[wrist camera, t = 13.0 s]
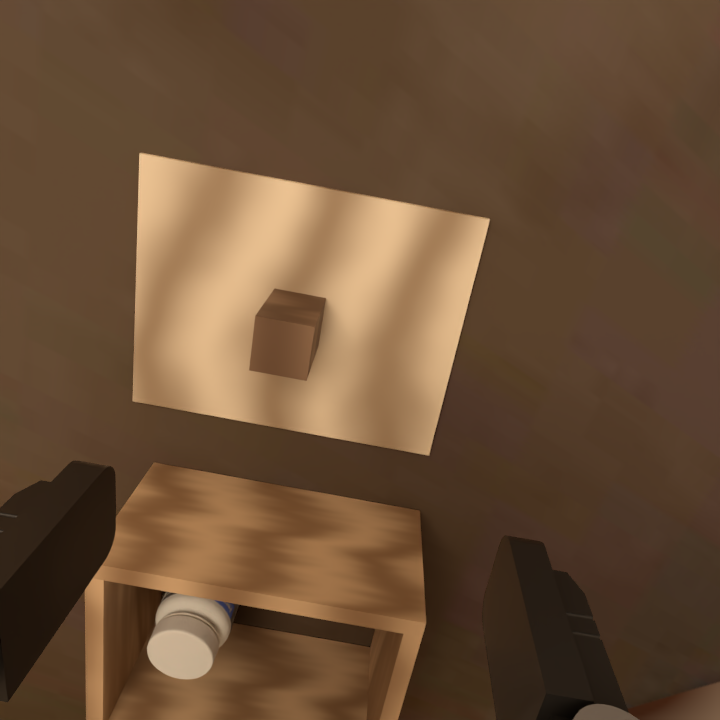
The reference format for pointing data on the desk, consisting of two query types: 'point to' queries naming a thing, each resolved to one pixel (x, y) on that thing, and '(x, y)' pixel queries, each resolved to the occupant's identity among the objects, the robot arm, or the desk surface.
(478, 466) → the desk surface
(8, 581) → the robot arm
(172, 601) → the pill bottle
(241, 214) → the lid
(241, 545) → the box
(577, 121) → the desk surface
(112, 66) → the desk surface
